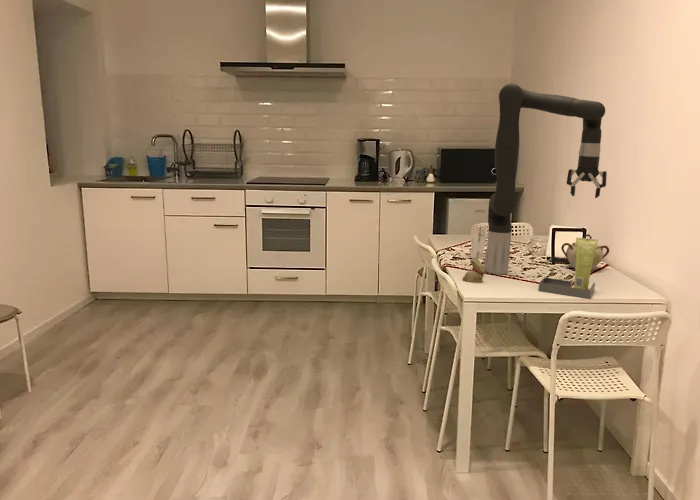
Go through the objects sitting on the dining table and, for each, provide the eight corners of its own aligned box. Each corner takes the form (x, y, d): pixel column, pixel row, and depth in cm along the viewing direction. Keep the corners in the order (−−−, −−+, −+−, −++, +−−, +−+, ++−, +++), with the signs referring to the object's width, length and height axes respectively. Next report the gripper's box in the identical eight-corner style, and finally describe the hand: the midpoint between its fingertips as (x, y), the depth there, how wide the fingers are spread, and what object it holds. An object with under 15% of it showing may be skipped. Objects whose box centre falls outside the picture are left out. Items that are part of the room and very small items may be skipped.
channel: (538, 290, 223) (539, 282, 223) (544, 283, 234) (545, 276, 233) (589, 298, 215) (590, 290, 214) (594, 290, 225) (595, 283, 224)
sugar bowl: (601, 265, 265) (605, 232, 262) (612, 274, 251) (616, 238, 248) (555, 263, 268) (559, 230, 264) (563, 271, 253) (567, 236, 250)
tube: (581, 286, 229) (587, 236, 224) (592, 290, 224) (598, 239, 220) (570, 288, 226) (576, 237, 222) (581, 291, 222) (586, 240, 218)
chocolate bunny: (478, 284, 230) (480, 259, 227) (461, 280, 235) (462, 255, 233) (486, 282, 234) (488, 257, 231) (468, 277, 239) (470, 253, 237)
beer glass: (469, 258, 272) (471, 226, 268) (468, 255, 278) (471, 223, 275) (484, 259, 270) (487, 227, 267) (484, 256, 277) (486, 224, 274)
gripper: (610, 155, 231) (605, 197, 235) (571, 153, 238) (567, 194, 242) (608, 156, 225) (602, 199, 228) (568, 154, 232) (563, 196, 235)
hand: (584, 196), depth 235 cm, fingers open, 8 cm apart
